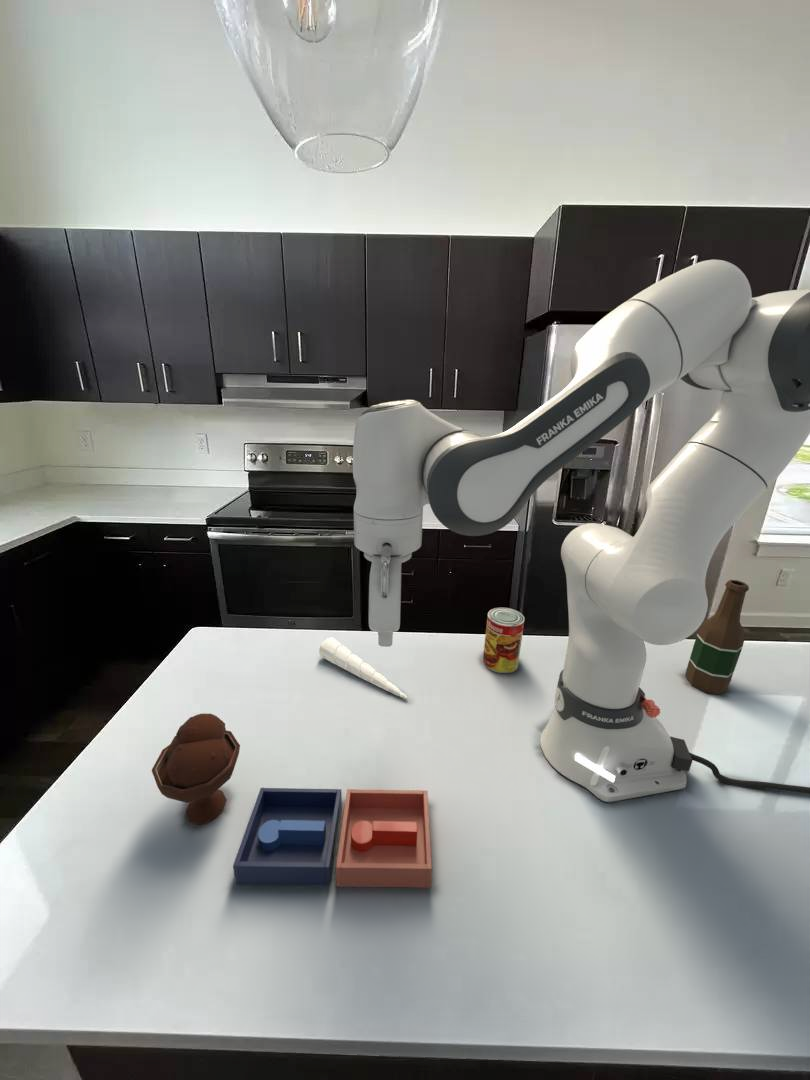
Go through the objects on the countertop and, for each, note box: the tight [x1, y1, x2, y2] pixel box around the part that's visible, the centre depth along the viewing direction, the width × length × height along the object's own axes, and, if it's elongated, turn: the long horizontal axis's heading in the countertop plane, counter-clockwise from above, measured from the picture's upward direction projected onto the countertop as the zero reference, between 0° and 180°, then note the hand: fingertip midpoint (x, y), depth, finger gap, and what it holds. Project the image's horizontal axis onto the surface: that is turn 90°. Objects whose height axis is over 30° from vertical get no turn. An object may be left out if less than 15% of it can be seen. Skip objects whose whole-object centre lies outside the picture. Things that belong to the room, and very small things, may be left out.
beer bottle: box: [684, 579, 750, 696], centre depth 87 cm, size 8×8×24 cm
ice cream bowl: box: [151, 713, 241, 826], centre depth 60 cm, size 11×11×15 cm
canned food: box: [482, 606, 526, 674], centre depth 95 cm, size 8×8×12 cm
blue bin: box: [232, 787, 343, 887], centre depth 57 cm, size 12×11×4 cm
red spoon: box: [351, 821, 417, 852], centre depth 57 cm, size 9×3×3 cm, turn 90°
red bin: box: [335, 788, 433, 889], centre depth 57 cm, size 12×11×4 cm
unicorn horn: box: [318, 637, 409, 700], centre depth 90 cm, size 5×24×5 cm, turn 49°
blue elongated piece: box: [258, 820, 326, 851], centre depth 57 cm, size 9×3×3 cm, turn 90°
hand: (386, 624), depth 60 cm, fingers open, 8 cm apart
